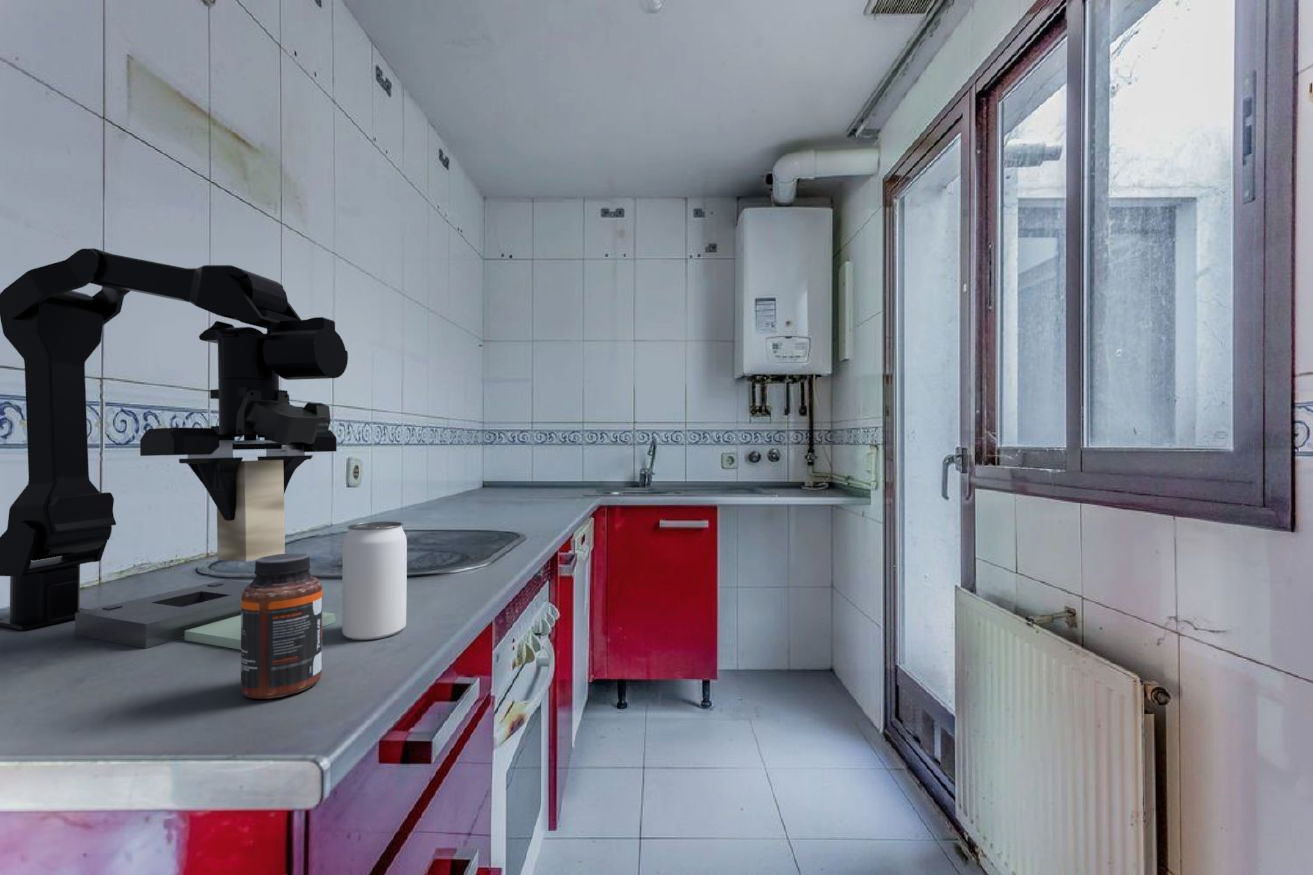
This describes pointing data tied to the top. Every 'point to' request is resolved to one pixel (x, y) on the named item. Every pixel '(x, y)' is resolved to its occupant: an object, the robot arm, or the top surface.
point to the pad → (230, 632)
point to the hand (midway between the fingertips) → (251, 517)
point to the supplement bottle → (281, 628)
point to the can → (374, 580)
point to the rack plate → (161, 614)
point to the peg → (254, 514)
